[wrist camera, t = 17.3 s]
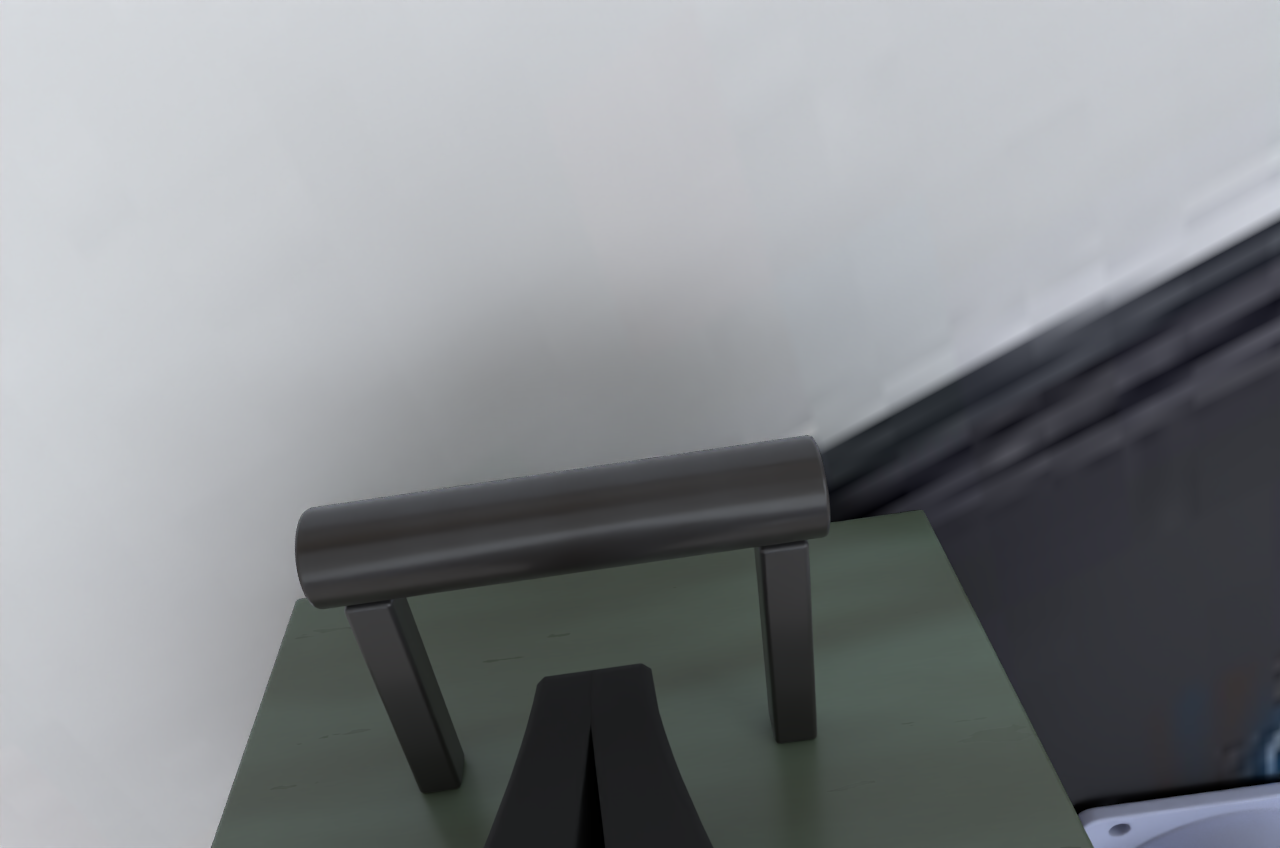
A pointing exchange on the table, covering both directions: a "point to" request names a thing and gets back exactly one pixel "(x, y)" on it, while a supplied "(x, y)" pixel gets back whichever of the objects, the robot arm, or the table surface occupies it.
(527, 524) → the drawer
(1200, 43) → the table surface
